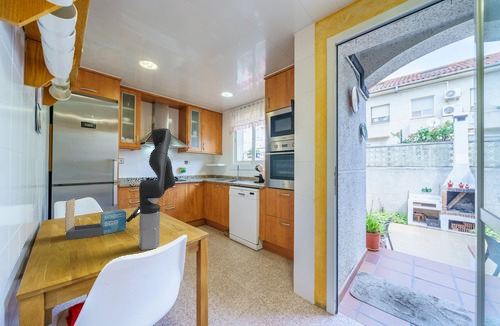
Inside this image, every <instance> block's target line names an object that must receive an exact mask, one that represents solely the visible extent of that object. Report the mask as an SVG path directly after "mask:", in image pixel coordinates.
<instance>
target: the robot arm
mask: <svg viewBox="0 0 500 326" xmlns="http://www.w3.org/2000/svg"><path fill="white" fill-rule="evenodd" d="M151 139H152V143H153V146H154V148H153V150H152V151H151V152H150V155H149V159H148V165H149V167H150V168H151V170H152V171H153V172H154V174H155V175H156V178H157V179H153V180H152V179H146V180H141V181H140V183H139V186H138V193H139V197H138V199H139V202H138V203H139V205H137V207H136V208H135V209H134V210H133V212H132V213H131V214H130V215H129V216H128V218H127V217H126V223H130V222H131V221H132V220H133V219H135V218H136V217H138V216H139V229H138V235H139V236H138V249H140V250H141V251H147V250H151V249H154V250H155V249H157V247H159V245H160V243H161V241H160V240H161V235H160V234H161V206H160V205H159V204H157V202H158V201H159V200H160V199H161V198H162V197H163V196H164V194H165V193H166V191H167V190H168V189H171V188H173V187H174V186H175V185H176V179H175V175H174V172H173V165H172V160H171V159H170V157H169V156H168V155H169V147H170V144H171V141H172V132H171V130H170V129H169V128H167V127H164V128H154V129H152V130H151Z"/></svg>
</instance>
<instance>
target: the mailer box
mask: <svg viewBox="0 0 500 326" xmlns="http://www.w3.org/2000/svg"><path fill="white" fill-rule="evenodd" d="M75 201H76V198H72V199H69V200H66V201H65V214H64V215H65V216H64V217H65V219H64V220H65V221H64V224H65V225H64V232H66V233H65V241H69V240H77V239H85V238H92V237H94V238H95V237H101V236H104V235H105V234H104V227H102V228H100V222H98V223H90V224H80V225H75V209H76V208H75V207H76V206H75V205H76V204H75V203H76V202H75Z"/></svg>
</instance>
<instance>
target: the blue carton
mask: <svg viewBox="0 0 500 326" xmlns="http://www.w3.org/2000/svg"><path fill="white" fill-rule="evenodd" d="M126 219H127V212H126V211H125V210H123V209H119V210H112V211H106V212H102V213H100V220H99V221H100V222H99V223H100V228H102V227H104V235H108V234H112V233H117V232H122V231H124V230H126V229H127V222H126Z"/></svg>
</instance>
